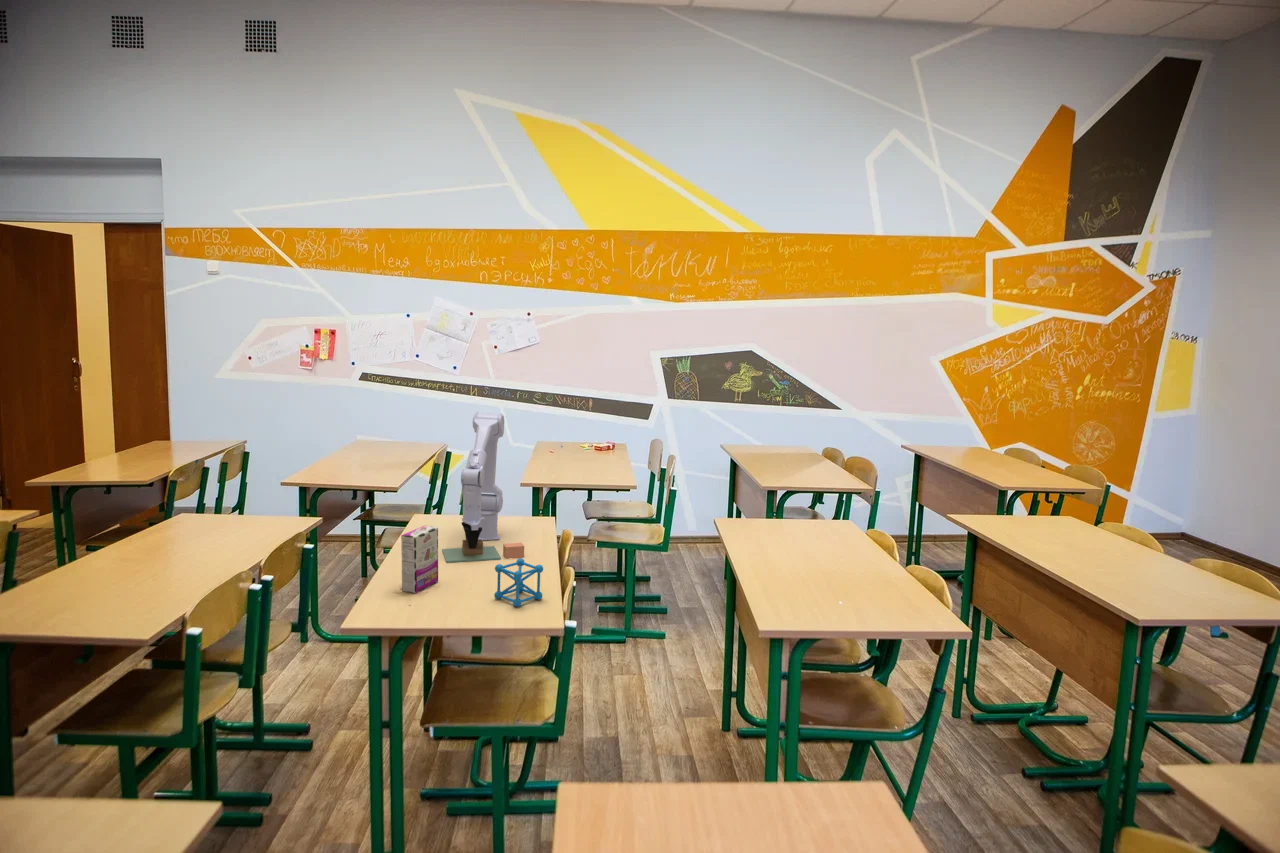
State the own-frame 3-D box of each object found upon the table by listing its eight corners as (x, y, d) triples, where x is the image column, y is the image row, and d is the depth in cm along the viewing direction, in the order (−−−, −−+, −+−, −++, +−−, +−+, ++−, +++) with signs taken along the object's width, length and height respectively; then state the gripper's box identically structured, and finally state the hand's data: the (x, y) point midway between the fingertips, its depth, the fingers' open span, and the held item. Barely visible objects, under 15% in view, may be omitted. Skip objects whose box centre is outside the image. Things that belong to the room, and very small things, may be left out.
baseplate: (442, 550, 250) (442, 549, 250) (494, 547, 256) (494, 545, 256) (446, 563, 238) (446, 561, 238) (501, 559, 244) (501, 557, 244)
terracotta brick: (503, 555, 249) (503, 543, 248) (521, 554, 251) (521, 542, 250) (505, 559, 245) (505, 547, 244) (524, 558, 247) (524, 546, 247)
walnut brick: (462, 552, 248) (462, 540, 247) (480, 550, 250) (481, 539, 249) (463, 555, 244) (464, 543, 244) (482, 554, 246) (483, 542, 246)
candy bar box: (424, 579, 223) (424, 524, 220) (438, 581, 221) (439, 527, 219) (400, 591, 212) (400, 534, 210) (415, 594, 211) (416, 536, 208)
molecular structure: (519, 590, 217) (520, 556, 216) (544, 599, 211) (545, 564, 210) (492, 599, 210) (493, 564, 208) (516, 609, 204) (517, 572, 202)
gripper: (488, 510, 239) (487, 551, 241) (481, 499, 253) (480, 539, 255) (465, 511, 237) (464, 553, 239) (459, 500, 250) (458, 540, 252)
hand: (471, 546), depth 247 cm, fingers open, 4 cm apart
